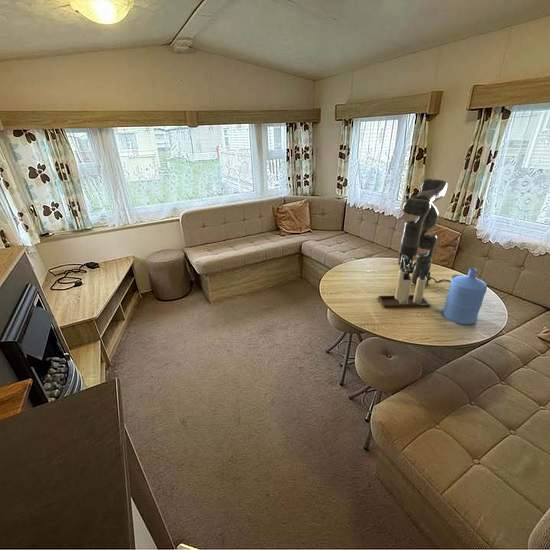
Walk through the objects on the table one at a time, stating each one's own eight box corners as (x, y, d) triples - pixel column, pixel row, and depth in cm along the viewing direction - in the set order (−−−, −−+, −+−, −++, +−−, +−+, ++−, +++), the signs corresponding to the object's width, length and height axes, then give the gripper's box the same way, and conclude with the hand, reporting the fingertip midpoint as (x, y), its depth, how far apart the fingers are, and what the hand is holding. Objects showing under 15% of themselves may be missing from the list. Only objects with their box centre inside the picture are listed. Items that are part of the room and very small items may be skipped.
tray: (421, 297, 178) (421, 294, 177) (429, 307, 168) (430, 304, 167) (378, 298, 178) (378, 295, 177) (384, 308, 168) (384, 305, 167)
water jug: (475, 328, 150) (492, 279, 137) (440, 319, 157) (453, 272, 145) (476, 313, 161) (491, 266, 149) (443, 306, 169) (456, 260, 157)
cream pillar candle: (402, 295, 150) (408, 266, 142) (406, 300, 145) (412, 270, 138) (393, 295, 150) (398, 266, 142) (396, 300, 145) (402, 270, 138)
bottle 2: (419, 299, 175) (424, 274, 167) (422, 303, 171) (428, 278, 163) (411, 299, 175) (416, 274, 167) (414, 304, 171) (420, 278, 163)
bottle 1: (405, 300, 175) (410, 274, 167) (408, 304, 171) (414, 278, 163) (397, 300, 175) (402, 275, 167) (400, 304, 171) (405, 278, 163)
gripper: (425, 249, 128) (417, 284, 136) (411, 238, 141) (405, 270, 149) (407, 249, 128) (401, 284, 136) (395, 238, 141) (390, 270, 149)
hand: (403, 276), depth 142 cm, fingers closed on cream pillar candle, 4 cm apart
